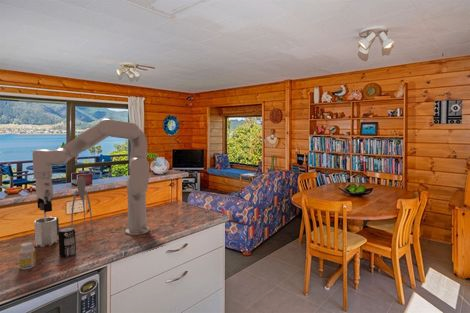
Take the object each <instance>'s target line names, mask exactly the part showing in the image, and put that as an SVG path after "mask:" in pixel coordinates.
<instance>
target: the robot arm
mask: <svg viewBox="0 0 470 313" xmlns="http://www.w3.org/2000/svg"><path fill="white" fill-rule="evenodd" d="M107 138H118V139H123V140H129V142H130V155H129V156H130V157H129V163H128V167H129V178H128V179H127V182H126V194H127V226H128V228H126V229H125V234H127V235H129V236H140V235H144V234H147V233H148V232H149V231H150V227H149V226H148V225H147V197H146V195H147V194H146V192H147V191H148V187H149V178H150V163H149V161H148V160H147V156H148V141H147V136H146V135H145V133H144V131H143V130H142V129H141V128H140V127H139V126H138V125H137V124H136V123H135V122H134V123H133V122H128V121H127V122H126V121H120V120H115V119H109V118H103V119H102V120H100V121H99V122H97V123H96V124H94V125H93V126H91V127H89V128H87V129H85V130H84V131H82V132H81V133H79V134H78V135H76V137H75V138H74V139H72V140H71V141H69V142H68V143H66V144H64V145H62V146H61V147H59V148H57V149H52V150H50V149H34V150H33V151H32V155H31V156H32V167H33V168H32V170H33V171H32V172H33V179H34V180H35V195H36V197H37V199H36V201H37V202H36V203H37V204H36V205H37V209H40V203H45V204H44V210H43V213H44V212H46V213H49V212H52V211H53V201H52V199H53V198H54V197H55V196H54V188H53V187H54V186H53V182H52V181H53V180H52V178H53V167H52V165H57V166H61V165H64V164H66V163H67V162H69V161H70V160H71V159H73V158H75V157H76V156H77V155H80V154H81V153H82V152H85V151H87V150H89V149H92V148H93V147H95V146H96V145H98V144H99V143H101V142H102V141H104V140H106V139H107Z"/></svg>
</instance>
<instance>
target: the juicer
mask: <svg viewBox="0 0 470 313" xmlns="http://www.w3.org/2000/svg"><path fill="white" fill-rule="evenodd" d="M76 187H77V190H75V191H74V195H73V198H72V205H71V217H70V219H71V227H73V228H74V207H75V202H76V198H77V195H79V198H80V200H81V201H82V208H83V223H84V226H85V225H86V209H85V208H86V207H85V206H86V205H85V204H86V203H85V202H86V201H85V197H86V199H87V203H88V209H89V210H88V211H89V216H90V218H89V219H90V228H91V230H92V229H93V216H92V207H91V206H92V205H91V201H90V197H89V194H88V190H86V178H85V177H84V176H79V177H78V178H77V179H76Z"/></svg>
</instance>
